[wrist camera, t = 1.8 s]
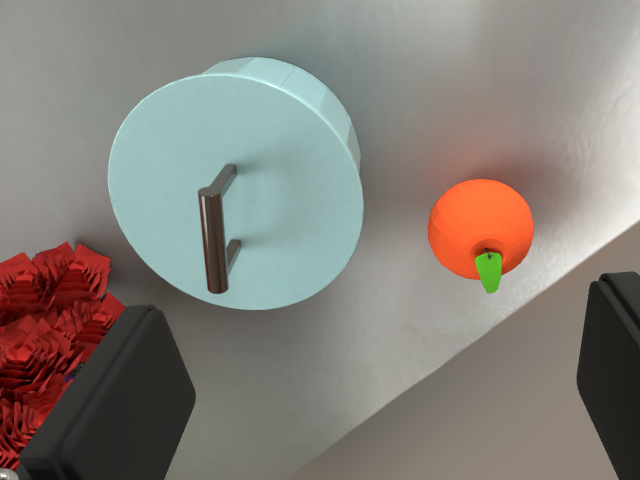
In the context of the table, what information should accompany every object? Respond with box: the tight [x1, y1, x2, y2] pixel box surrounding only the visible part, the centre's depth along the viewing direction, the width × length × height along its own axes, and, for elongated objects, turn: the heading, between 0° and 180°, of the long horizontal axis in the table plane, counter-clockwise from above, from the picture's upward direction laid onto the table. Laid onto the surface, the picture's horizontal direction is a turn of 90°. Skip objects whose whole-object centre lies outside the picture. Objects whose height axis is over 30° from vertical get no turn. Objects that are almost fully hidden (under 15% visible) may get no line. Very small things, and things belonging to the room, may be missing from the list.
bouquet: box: [0, 242, 126, 472], centre depth 44 cm, size 20×16×30 cm
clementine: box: [428, 179, 534, 293], centre depth 33 cm, size 8×7×7 cm
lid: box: [108, 73, 364, 310], centre depth 27 cm, size 16×16×6 cm
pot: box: [200, 57, 361, 172], centre depth 33 cm, size 15×15×8 cm
